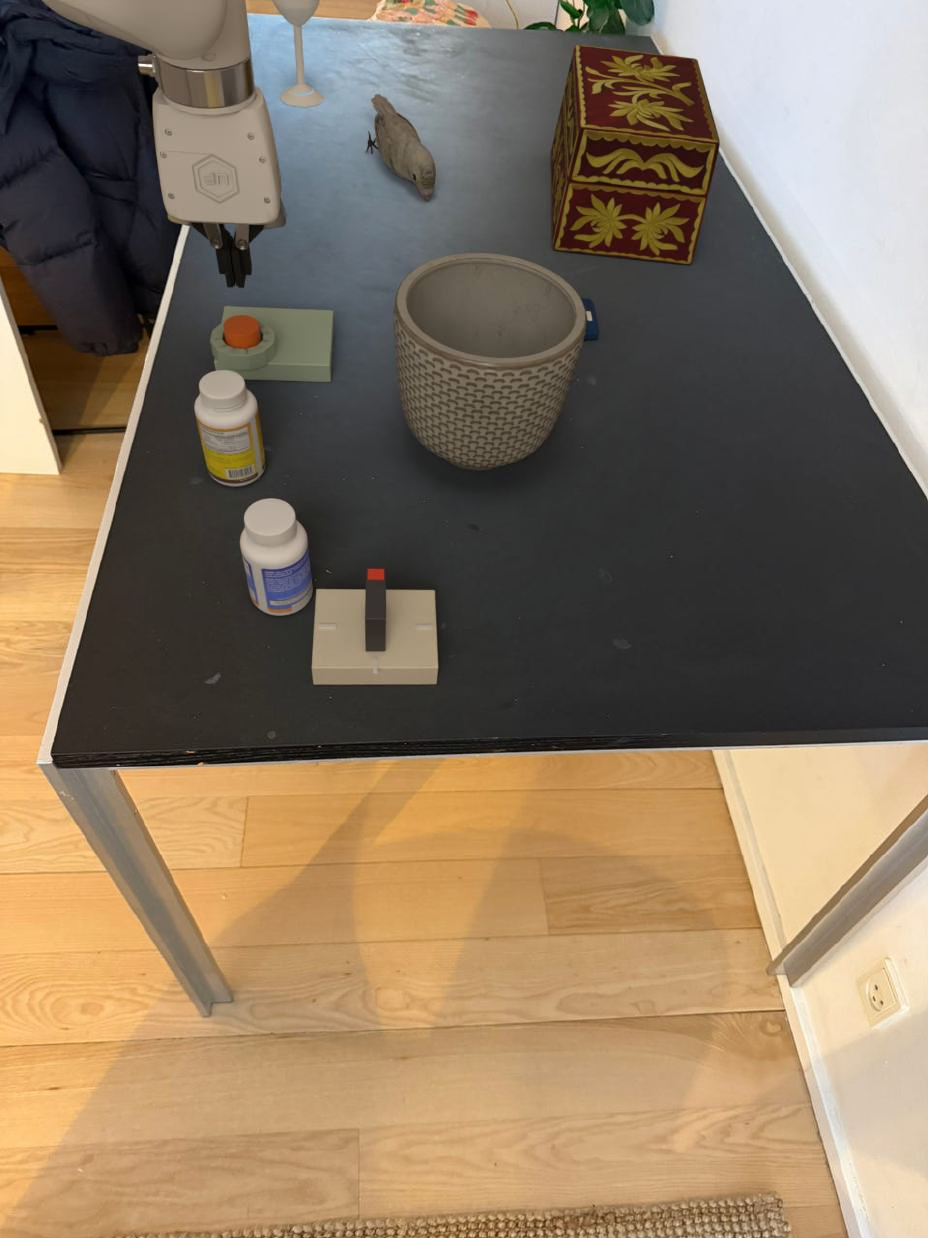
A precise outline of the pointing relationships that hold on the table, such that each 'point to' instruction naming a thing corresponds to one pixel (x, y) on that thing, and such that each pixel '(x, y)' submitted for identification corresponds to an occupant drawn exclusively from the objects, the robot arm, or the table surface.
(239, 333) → the button
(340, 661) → the dial panel
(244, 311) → the block
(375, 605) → the program dial
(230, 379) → the supplement bottle
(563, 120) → the decorative box
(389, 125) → the decorative bird
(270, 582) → the pill bottle
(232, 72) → the robot arm
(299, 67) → the champagne flute
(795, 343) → the table surface
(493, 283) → the planter
